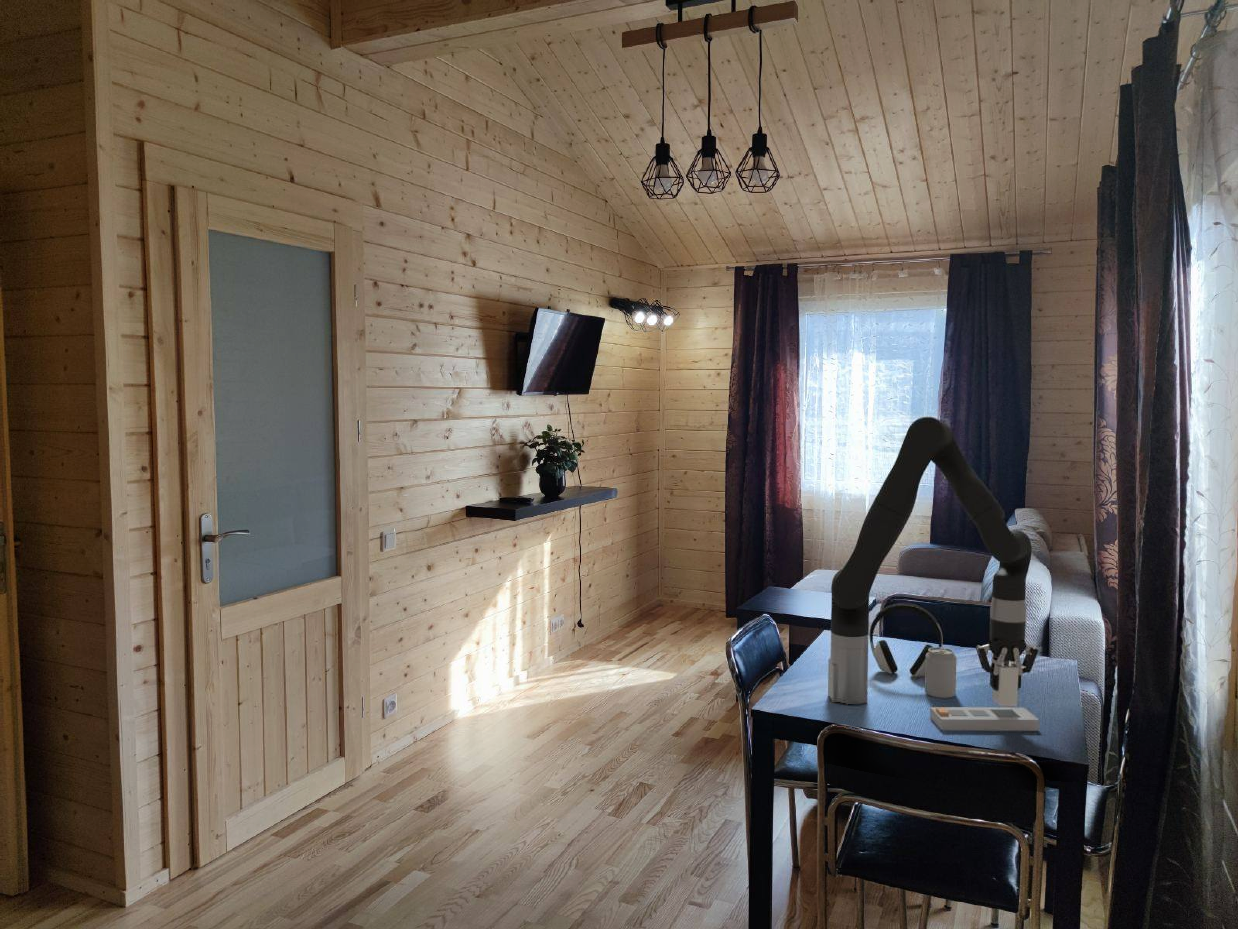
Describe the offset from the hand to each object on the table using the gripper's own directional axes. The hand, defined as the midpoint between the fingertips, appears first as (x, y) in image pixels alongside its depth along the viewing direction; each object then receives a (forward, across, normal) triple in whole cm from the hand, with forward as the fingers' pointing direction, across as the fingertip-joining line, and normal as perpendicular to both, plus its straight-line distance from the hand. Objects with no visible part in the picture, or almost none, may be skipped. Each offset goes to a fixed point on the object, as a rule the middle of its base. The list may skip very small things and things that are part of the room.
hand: (1005, 689), depth 208 cm
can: (+9, -8, +21) cm, 24 cm away
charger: (+3, 0, 0) cm, 3 cm away
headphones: (+9, -12, +38) cm, 41 cm away
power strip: (+9, -5, 0) cm, 10 cm away
